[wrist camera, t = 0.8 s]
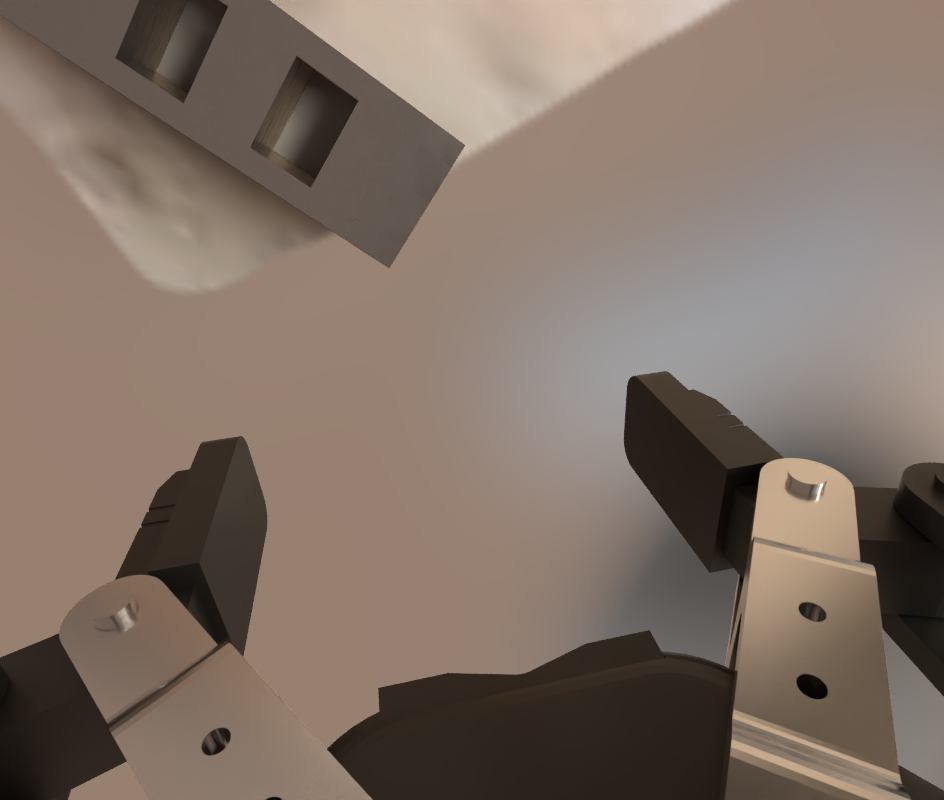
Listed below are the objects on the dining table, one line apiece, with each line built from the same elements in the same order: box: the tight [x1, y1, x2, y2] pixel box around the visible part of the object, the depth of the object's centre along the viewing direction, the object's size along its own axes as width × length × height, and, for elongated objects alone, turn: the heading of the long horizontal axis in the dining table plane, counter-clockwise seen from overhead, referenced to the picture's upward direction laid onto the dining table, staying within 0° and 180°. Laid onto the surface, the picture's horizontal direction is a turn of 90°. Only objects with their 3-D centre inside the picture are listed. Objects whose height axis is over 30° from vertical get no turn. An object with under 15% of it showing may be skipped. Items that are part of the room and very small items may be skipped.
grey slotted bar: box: [0, 0, 465, 268], centre depth 28 cm, size 20×7×4 cm, turn 56°
